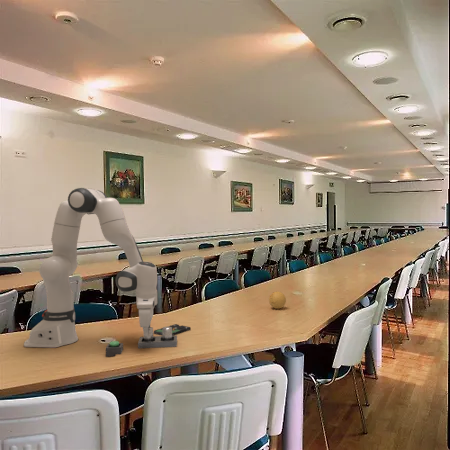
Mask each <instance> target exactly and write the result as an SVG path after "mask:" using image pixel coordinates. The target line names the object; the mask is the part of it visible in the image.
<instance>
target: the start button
mask: <svg viewBox="0 0 450 450" xmlns="http://www.w3.org/2000/svg"><path fill="white" fill-rule="evenodd" d="M109 343H110V346H112V347H115V346H118V345H119V343H120V341H118V340H112V341H110V342H109Z"/></svg>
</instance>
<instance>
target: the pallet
mask: <svg viewBox="0 0 450 450" xmlns="http://www.w3.org/2000/svg"><path fill="white" fill-rule="evenodd" d="M177 347H178V334H177V335H174V336H172V341H163V336H162V335H155V336H154V335H153V341H148V342H144V336H140V337H139V339H138V343H137V349H159V348H160V349H161V348H177Z"/></svg>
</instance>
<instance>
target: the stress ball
mask: <svg viewBox="0 0 450 450" xmlns="http://www.w3.org/2000/svg"><path fill="white" fill-rule="evenodd" d="M268 297H269V298H268V302H269V306H271V307H272V308H274V309H275V310H280V309H282V308H283V307H284V306H285V305H286V303H287V297H286V295H285V294H284V293H283V292H281V291H274V292H272V293H271V294H270V295H269V296H268Z"/></svg>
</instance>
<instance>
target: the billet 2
mask: <svg viewBox="0 0 450 450" xmlns="http://www.w3.org/2000/svg"><path fill="white" fill-rule="evenodd" d="M169 326H170V325H167V326H163V327H162V328H163V341H172V327H169Z"/></svg>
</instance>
